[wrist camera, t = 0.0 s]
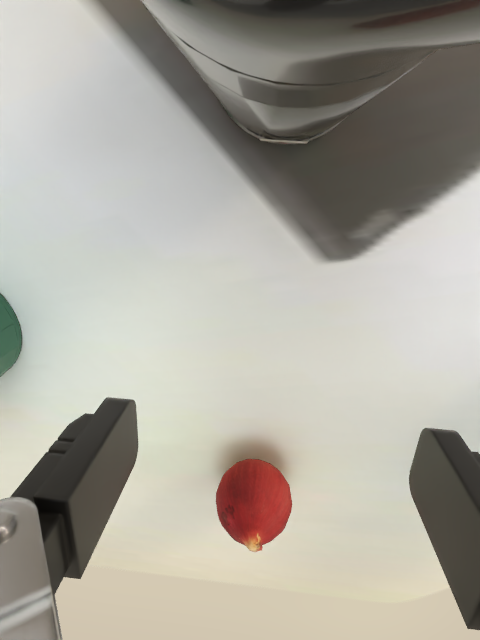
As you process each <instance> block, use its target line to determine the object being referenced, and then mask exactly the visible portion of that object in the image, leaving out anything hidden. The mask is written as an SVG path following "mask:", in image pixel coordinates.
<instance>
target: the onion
mask: <svg viewBox="0 0 480 640" xmlns="http://www.w3.org/2000/svg"><path fill="white" fill-rule="evenodd" d="M216 505H217V512H218V516H219V520H220V522H221V524H222V526H223V527H224V528H225V530H226V531H227V532H228V533H229V535H230V536H231V537H232V538H233V539H234V540H235V541H237V542H239V543H241V544H244V545H245V546H246V547H247V548H248V549H249V550H250V551H253V552H257V551H260V550H262V545H264V544H266V543H268V542H270V541H272V540H273V539H274V538H275V537H276V536H278V535H279V534H280V533H281V532H282V531H283V529H284V528H285V526H286V523H287V521H288V518H289V516H290V513H291V508H292V500H291V493H290V487H289V484H288V483H287V481H286V479H285V478H284V476H283V475H282V474H281V472H280V471H279V470H278V469H277V468H275V467H274V466H273V465H271V464H270V463H267V462H265V461H262V460H259V459H246V460H243V461H239V462H237V463H236V464H234V465H233V466H232V467H231V468H229V469H228V470H227V471H226V472H225V473H224V475H223V477H222V479H221V482H220V484H219V486H218V489H217V492H216Z"/></svg>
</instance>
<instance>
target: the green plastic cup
mask: <svg viewBox="0 0 480 640" xmlns="http://www.w3.org/2000/svg"><path fill="white" fill-rule="evenodd" d="M21 343H22V337H21V330H20V326H19V322H18V320H17V317H16V315H15V313H14V311H13V309H12V308H11V306H10V305H9V303H8V302H7V301H6V300H5V298H4V297H3V296H2V295H1V294H0V377H1V376H2V375H3V374H4V373H5V372H6V371H7V370H8V369H10V368H11V367H12V366H13V364H14V363H15V362H16V360H17V358H18V356H19V353H20V350H21Z"/></svg>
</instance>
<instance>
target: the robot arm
mask: <svg viewBox="0 0 480 640" xmlns="http://www.w3.org/2000/svg"><path fill="white" fill-rule="evenodd" d="M141 2H142V3H143V4H144V6H145V7H146V9H147V10H148V11H149V12H150V14H151V15H152V16H153V17H154V19H155V20H156V21H157V22H158V24H159V25H160V26H161V27H162V29H163V30H164V31H165V32H166V34H167V35H168V36H169V37H170V39H171V40H172V41H173V43H174V44H175V45H176V46H177V48H178V49H179V50H180V51H181V52H182V53H183V54H184V56H185V57H186V58H187V59H188V61H189V62H190V63H191V65H192V66H193V67H194V68H195V70H196V71H197V72H198V73H199V75H200V76H201V77H202V79H203V80H204V81H205V82H206V84H207V85H208V86H209V87H210V89H211V90H212V91H213V93H214V94H215V95H216V96H217V98H218V99H219V101H220V103H221V105H222V106H223V108H224V109H225V111H226V112H227V113H228V115H229V116H230V117H231V118H232V119H233V120H234V122H235V123H236V124H237V125H239V126H240V127H241V128H242V129H243V130H245V131H246V132H247V133H249V134H251V135H252V136H254V137H256V138H258V139H260V141H266V142H269V143H274V144H282V145H292V144H300V143H305V144H306V143H307V142H308V141H311V140H314V139H316V138H318V137H321V136H322V135H324V134H326V133H328V132H329V131H331V130H332V129H333V128H335V127H336V126H338V125H339V124H340V123H341V122H342V121H344V120H345V119H346V118H347V117H348V116H349V115H350V114H352V113H353V112H354V111H356V110H357V109H358V108H360V107H361V106H363V105H364V104H365V103H367V102H368V101H369V100H371V99H372V98H374V97H375V96H376V95H378V94H379V93H380V92H382V91H383V90H385V89H386V88H387V87H389V86H390V85H391V84H393V83H394V82H395V81H397V80H398V79H400V78H401V77H402V76H404V75H405V74H406V73H408V72H409V71H411V70H412V69H413V68H415V67H416V66H417V65H419V64H420V63H421V62H423V61H424V60H425V59H426V58H428V57H429V56H430V55H432V54H433V53H435V52H436V51H437V50H439V49H445V48H452V47H459V46H465V45H472V44H479V43H480V0H141ZM137 452H138V431H137V415H136V404H135V401H134V400H130V399H119V398H106V399H105V400H104V401H103V402H102V404H101V405H100V406H99V408H98V409H97V411H96V412H95V413H94V414H84V415H82V416H81V417H79V418H78V419H76V420H75V421H73V422H72V423H70V424H69V425H68V426H67V427H66V429H65V430H64V431H63V432H62V434H61V435H60V436H59V437H58V440H57V441H55V442H54V444H53V445H52V446H51V447H50V449H49V451H48V452H46V453H45V455H44V456H43V457H42V458H41V460H40V461H39V462H38V463H37V465H36V466H35V467H34V468H33V470H32V471H31V472H30V473H29V475H28V476H27V477H26V478H25V480H24V481H23V482H22V483H21V485H20V486H19V487H18V488H17V489H16V491H15V492H14V493H13V494H12V496H11V497H10V498H5V499H1V500H0V640H62V634H61V629H60V623H59V617H58V611H57V606H56V600H55V593H56V590H57V589H58V587H59V585H60V583H61V581H62V579H63V577H69V578H77V579H81V577H82V574H83V572H84V570H85V568H86V566H87V564H88V562H89V560H90V558H91V556H92V553H93V551H94V549H95V547H96V545H97V543H98V541H99V539H100V537H101V534H102V532H103V530H104V528H105V526H106V524H107V522H108V520H109V518H110V515H111V513H112V511H113V509H114V507H115V505H116V503H117V501H118V499H119V496H120V494H121V492H122V490H123V488H124V486H125V484H126V482H127V480H128V477H129V475H130V473H131V471H132V469H133V467H134V464H135V461H136V458H137ZM409 485H410V491H411V495H412V498H413V500H414V502H415V505H416V507H417V509H418V512H419V514H420V517H421V519H422V521H423V524H424V526H425V528H426V531H427V533H428V536H429V538H430V540H431V543H432V545H433V547H434V550H435V552H436V555H437V557H438V559H439V562H440V564H441V566H442V569H443V571H444V574H445V576H446V578H447V581H448V583H449V585H450V588H451V590H452V593H453V595H454V597H455V600H456V602H457V604H458V607H459V609H460V612H461V614H462V616H463V619H464V621H465V623H466V626H467V628H468V629H475V630H480V454H479V453H478V452H471V451H470V449H469V448H468V446H467V445H466V444H465V442H464V441H463V439H462V438H461V436H460V435H459V434H458V433H457V432H456V431H453V430H442V429H431V428H425V429H423V430H422V432H421V435H420V438H419V441H418V445H417V449H416V452H415V456H414V459H413V463H412V466H411V470H410V475H409Z"/></svg>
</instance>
